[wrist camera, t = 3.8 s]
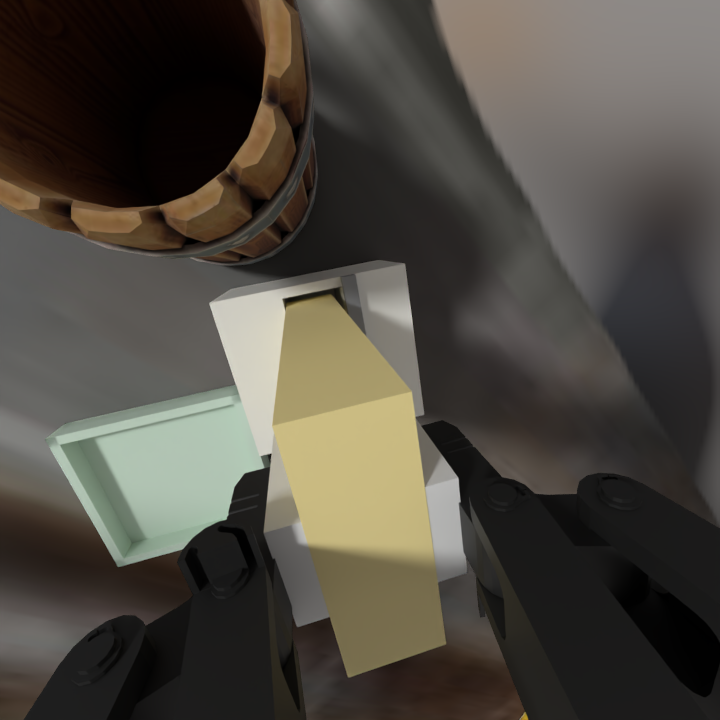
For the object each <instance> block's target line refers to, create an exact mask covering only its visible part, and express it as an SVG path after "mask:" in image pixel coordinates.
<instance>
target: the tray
mask: <svg viewBox="0 0 720 720" xmlns="http://www.w3.org/2000/svg"><path fill="white" fill-rule="evenodd" d="M45 440H46V442H47V444H48V445H49V447H50V449H51V451H52V452H53V454H54V456H55V458H56V459H57V461H58V463H59V465H60V466H61V468H62V470H63V472H64V473H65V475H66V477H67V479H68V480H69V482H70V484H71V486H72V487H73V489H74V491H75V493H76V494H77V496H78V498H79V500H80V501H81V503H82V505H83V507H84V508H85V510H86V512H87V514H88V515H89V517H90V519H91V521H92V522H93V524H94V526H95V528H96V529H97V531H98V533H99V535H100V536H101V538H102V540H103V542H104V543H105V545H106V547H107V549H108V550H109V552H110V554H111V556H112V557H113V559H114V561H115V562H116V564H117V566H118V567H121V566H124V565H128V564H131V563H135V562H139V561H142V560H146V559H150V558H153V557H157V556H160V555H164V554H168V553H171V552H175V551H179V550H182V549H184V547H185V546H186V545H187V544H188V543H189V541H190V540H191V539H192V538H193V537H194V536H196V535H197V534H198V533H199V532H201V531H202V530H203V529H205V528H206V527H208V526H210V525H213V524H215V523H217V522H219V521H223V520H227V516H228V511H229V507H230V504H231V499H232V495H233V491H234V487H235V486H236V484H237V483H238V482H239V480H240V479H241V477H242V476H243V475H244V473H248V472H251V471H255V470H259V469H263V468H267V467H270V462H269V458H268V455H263V456H259V453H258V450H257V447H256V444H255V441H254V438H253V435H252V432H251V429H250V426H249V423H248V420H247V416H246V413H245V410H244V407H243V404H242V401H241V398H240V395H239V392H238V389H237V386H236V385H232V386H227V387H223V388H219V389H214V390H210V391H206V392H201V393H197V394H192V395H188V396H184V397H179V398H175V399H171V400H166V401H162V402H157V403H153V404H149V405H144V406H140V407H135V408H131V409H127V410H122V411H118V412H114V413H109V414H105V415H100V416H96V417H92V418H87V419H83V420H79V421H74V422H70V423H65V424H64V425H63V426H61V427H60V428H59V429H57V430H56V431H55V432H53V433H52V434H51V435H50V436H48V437H47V438H46V439H45Z"/></svg>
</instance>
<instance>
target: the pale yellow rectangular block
mask: <svg viewBox="0 0 720 720" xmlns="http://www.w3.org/2000/svg"><path fill="white" fill-rule="evenodd" d="M272 428H273V431H274V434H275V438H276V441H277V444H278V447H279V451H280V454H281V457H282V461H283V464H284V467H285V471H286V474H287V477H288V481H289V484H290V487H291V490H292V494H293V497H294V500H295V504H296V507H297V510H298V514H299V517H300V520H301V524H302V527H303V530H304V533H305V537H306V540H307V543H308V547H309V550H310V553H311V557H312V560H313V563H314V567H315V570H316V573H317V576H318V580H319V583H320V586H321V590H322V593H323V596H324V600H325V603H326V606H327V610H328V613H329V616H330V619H331V623H332V626H333V629H334V633H335V636H336V639H337V643H338V646H339V649H340V653H341V656H342V659H343V662H344V666H345V669H346V672H347V676H348V678H349V677H352V676H355V675H358V674H361V673H364V672H367V671H370V670H373V669H375V668H378V667H381V666H384V665H387V664H390V663H393V662H396V661H399V660H402V659H405V658H408V657H411V656H414V655H416V654H419V653H422V652H425V651H428V650H431V649H434V648H437V647H440V646H443V645H446V639H445V631H444V624H443V617H442V609H441V602H440V595H439V587H438V580H437V573H436V565H435V558H434V551H433V543H432V536H431V529H430V521H429V514H428V507H427V499H426V492H425V485H424V477H423V470H422V463H421V455H420V448H419V441H418V433H417V426H416V419H415V411H414V404H413V397H412V391H411V390H410V389H409V388H408V386H407V385H406V384H405V383H404V382H403V380H402V379H401V378H400V377H399V375H398V374H397V373H396V372H395V371H394V369H393V368H392V367H391V366H390V365H389V363H388V362H387V361H386V360H385V359H384V357H383V356H382V355H381V354H380V353H379V351H378V350H377V349H376V348H375V346H374V345H373V344H372V343H371V342H370V340H369V339H368V338H367V337H366V336H365V334H364V333H363V332H362V331H361V330H360V328H359V327H358V326H357V325H356V324H355V322H354V321H353V320H352V319H351V317H350V316H349V315H348V314H347V313H346V311H345V310H344V309H343V308H342V307H341V305H340V304H339V303H338V302H337V301H336V299H335V298H334V297H333V296H332V295H331V294H326V295H321V296H317V297H312V298H307V299H302V300H297V301H292V302H287V303H286V311H285V320H284V328H283V337H282V345H281V354H280V362H279V371H278V379H277V388H276V396H275V405H274V413H273V422H272Z"/></svg>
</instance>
